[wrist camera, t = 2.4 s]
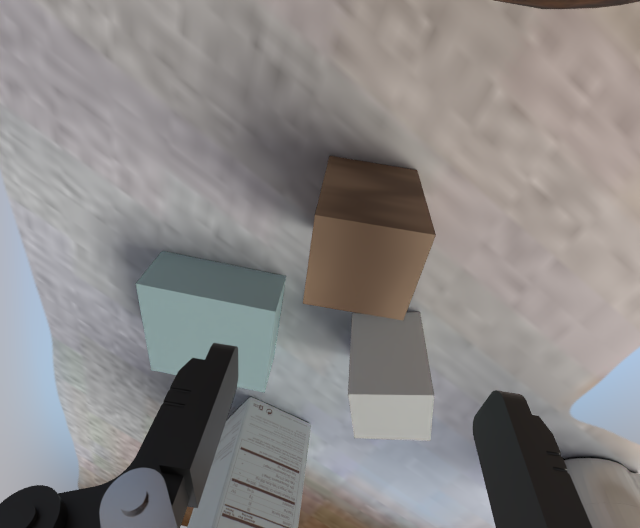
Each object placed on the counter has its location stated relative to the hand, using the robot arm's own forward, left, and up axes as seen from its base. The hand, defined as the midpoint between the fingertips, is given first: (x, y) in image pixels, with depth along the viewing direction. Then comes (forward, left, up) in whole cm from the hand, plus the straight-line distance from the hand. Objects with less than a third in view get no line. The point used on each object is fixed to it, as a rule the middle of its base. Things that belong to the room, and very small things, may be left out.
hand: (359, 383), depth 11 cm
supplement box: (+5, +27, -13) cm, 30 cm away
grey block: (-4, +11, -13) cm, 18 cm away
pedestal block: (+9, +11, -13) cm, 19 cm away
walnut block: (0, 0, -13) cm, 13 cm away
